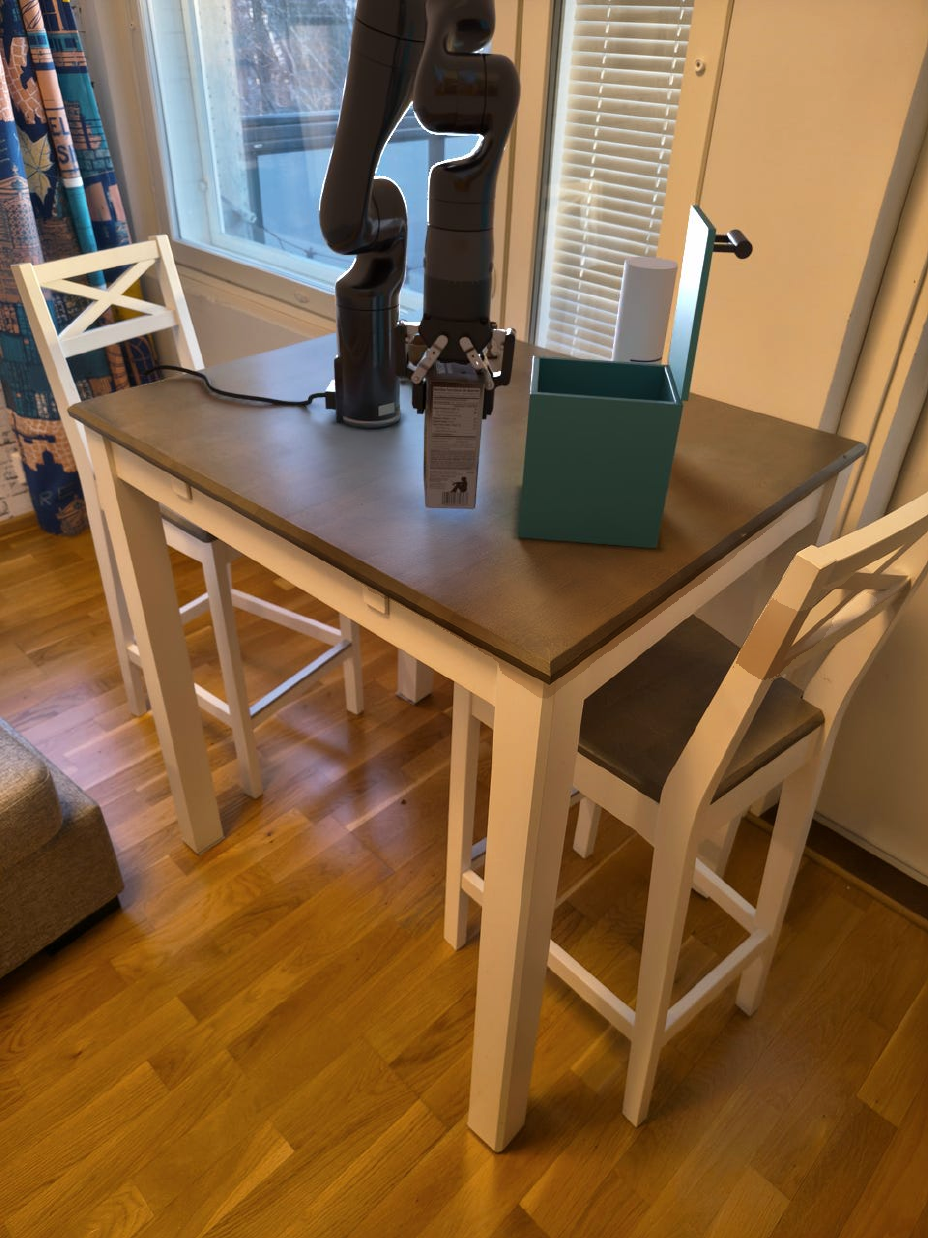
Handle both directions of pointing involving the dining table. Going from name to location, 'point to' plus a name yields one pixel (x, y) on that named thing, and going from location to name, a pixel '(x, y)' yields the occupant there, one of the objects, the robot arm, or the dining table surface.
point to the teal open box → (598, 451)
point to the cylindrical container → (644, 309)
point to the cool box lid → (697, 291)
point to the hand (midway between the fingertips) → (452, 414)
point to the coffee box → (452, 435)
